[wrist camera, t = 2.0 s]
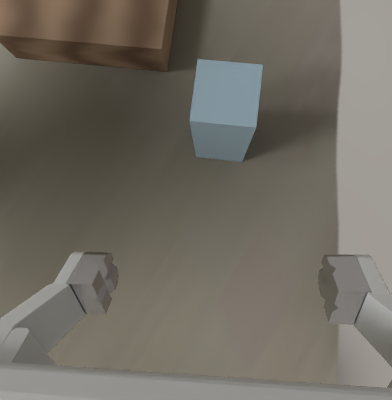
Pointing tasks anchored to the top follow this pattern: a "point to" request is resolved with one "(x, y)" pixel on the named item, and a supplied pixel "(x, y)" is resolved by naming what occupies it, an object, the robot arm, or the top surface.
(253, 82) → the slate block
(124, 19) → the walnut base
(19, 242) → the top surface
